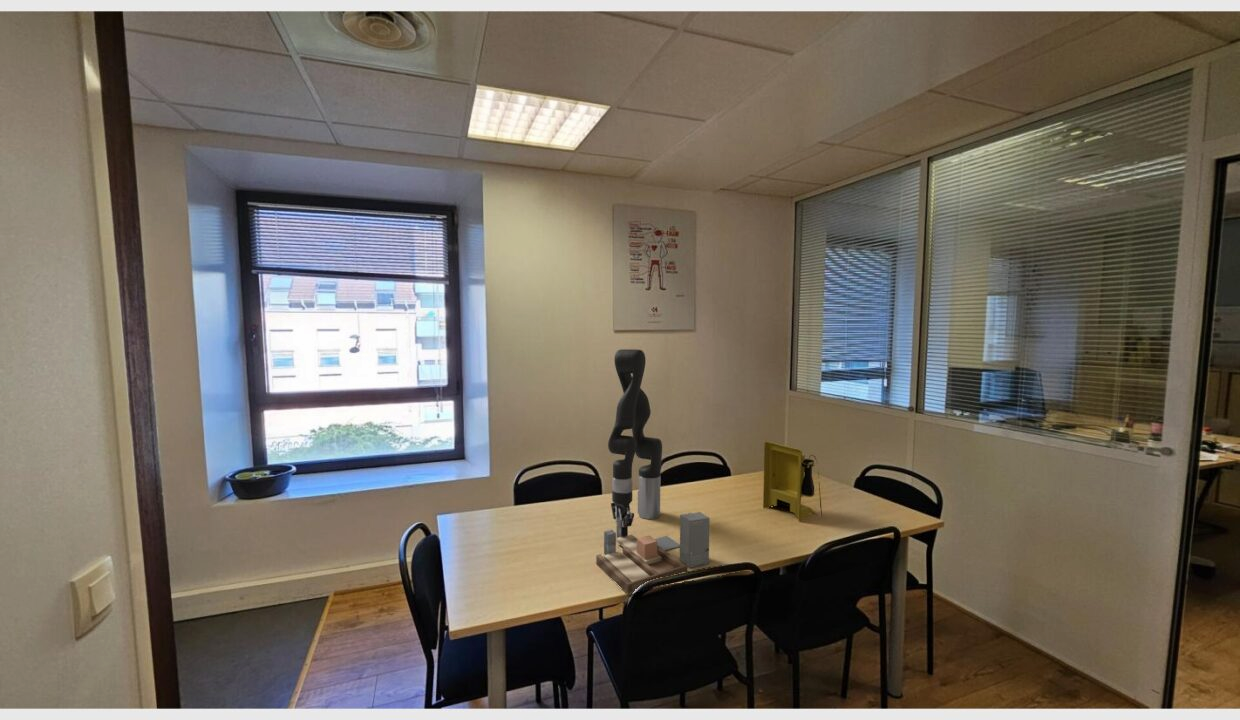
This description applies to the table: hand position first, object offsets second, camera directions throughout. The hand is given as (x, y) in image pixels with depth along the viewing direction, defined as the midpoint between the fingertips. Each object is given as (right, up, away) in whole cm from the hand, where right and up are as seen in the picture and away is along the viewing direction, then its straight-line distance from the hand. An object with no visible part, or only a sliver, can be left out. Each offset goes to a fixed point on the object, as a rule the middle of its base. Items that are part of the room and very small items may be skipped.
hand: (622, 533), depth 170 cm
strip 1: (+5, -2, -8) cm, 10 cm away
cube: (+8, -1, -15) cm, 17 cm away
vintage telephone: (+74, -1, +27) cm, 79 cm away
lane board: (+6, -4, -20) cm, 22 cm away
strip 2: (+1, -3, -21) cm, 21 cm away
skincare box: (+25, -4, -15) cm, 29 cm away
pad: (+15, -3, -3) cm, 16 cm away
